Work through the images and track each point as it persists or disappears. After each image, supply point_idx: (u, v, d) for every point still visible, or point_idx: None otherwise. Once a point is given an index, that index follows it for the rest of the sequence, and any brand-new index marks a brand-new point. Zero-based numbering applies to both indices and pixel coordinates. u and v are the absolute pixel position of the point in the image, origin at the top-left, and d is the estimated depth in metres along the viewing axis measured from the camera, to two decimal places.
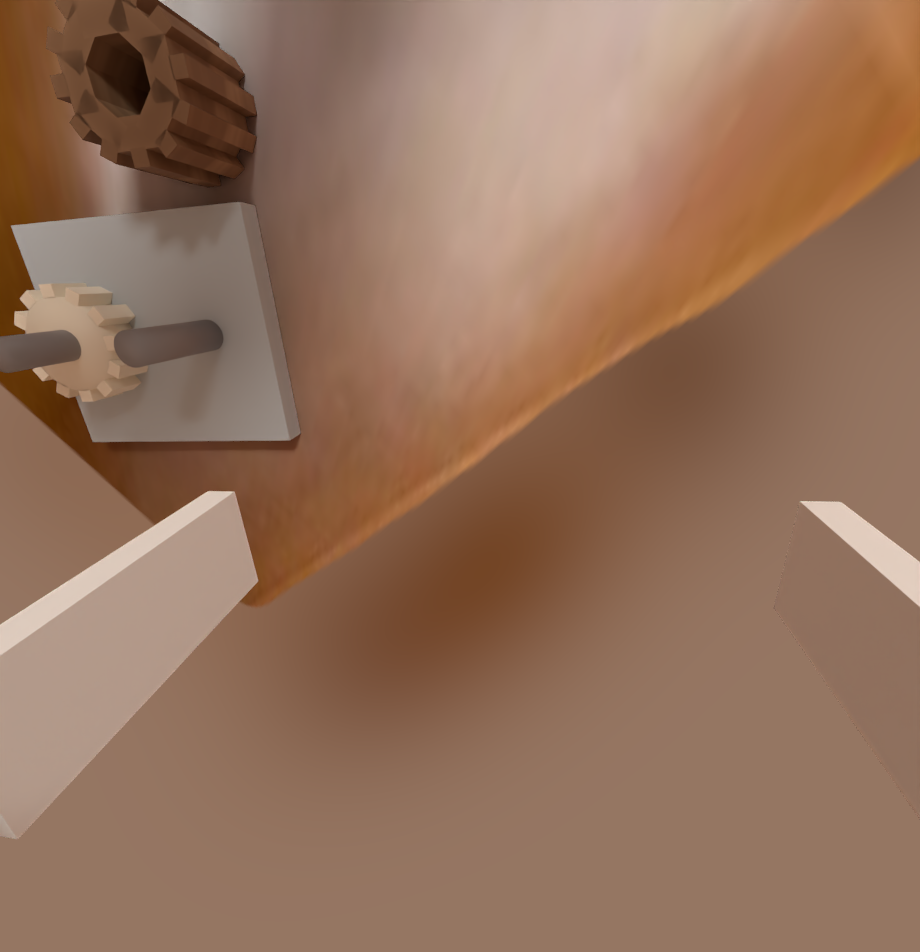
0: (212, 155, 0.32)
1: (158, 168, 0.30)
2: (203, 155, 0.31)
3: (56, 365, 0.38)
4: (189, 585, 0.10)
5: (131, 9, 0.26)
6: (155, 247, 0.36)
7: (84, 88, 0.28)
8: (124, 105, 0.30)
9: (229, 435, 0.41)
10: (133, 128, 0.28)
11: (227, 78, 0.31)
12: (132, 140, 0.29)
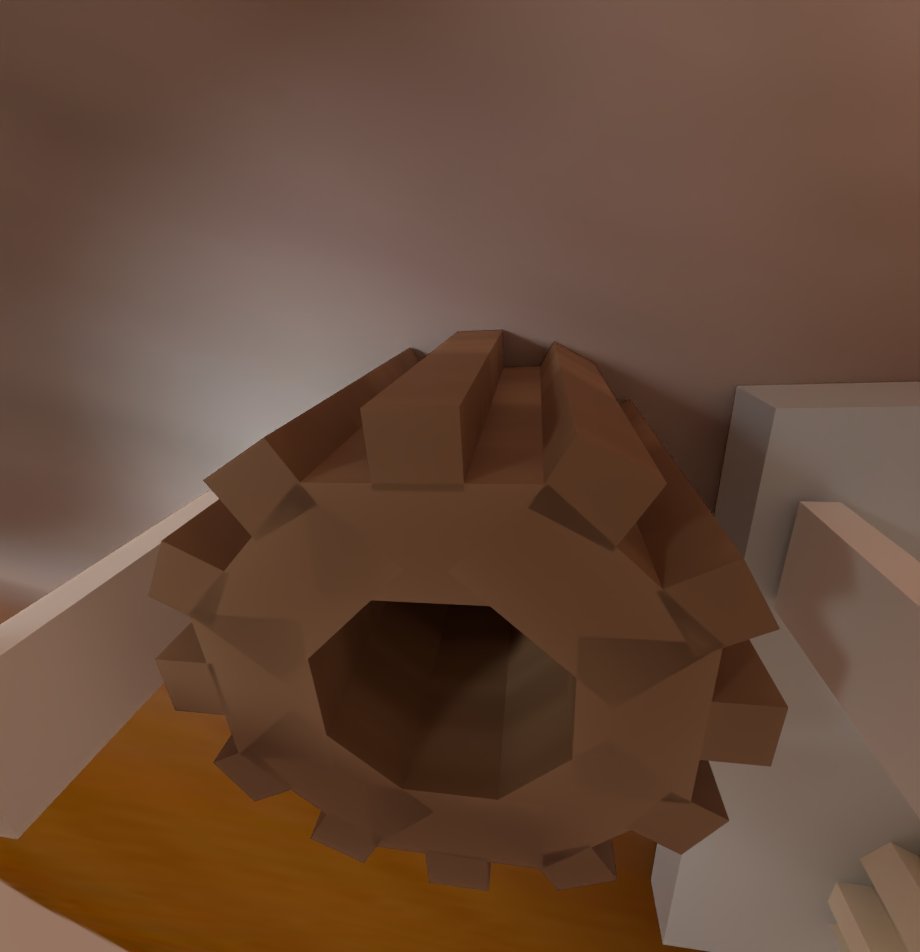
0: (652, 454, 0.09)
1: (759, 665, 0.07)
2: (683, 475, 0.07)
3: None
4: None
5: (234, 590, 0.07)
6: (817, 707, 0.12)
7: (469, 817, 0.08)
8: (495, 685, 0.10)
9: None
10: (621, 720, 0.06)
11: None
12: (664, 740, 0.06)
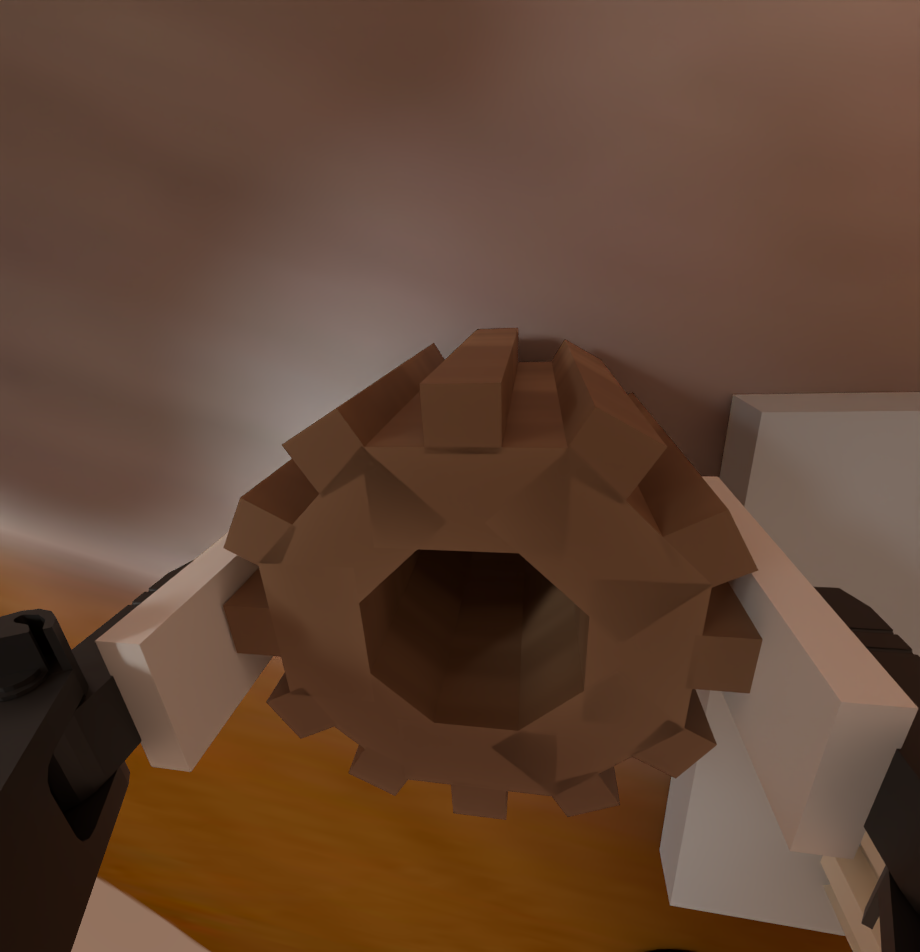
0: None
1: (742, 610, 0.08)
2: None
3: None
4: None
5: (300, 541, 0.08)
6: None
7: (491, 748, 0.09)
8: (512, 642, 0.11)
9: None
10: (626, 653, 0.08)
11: None
12: (662, 671, 0.08)
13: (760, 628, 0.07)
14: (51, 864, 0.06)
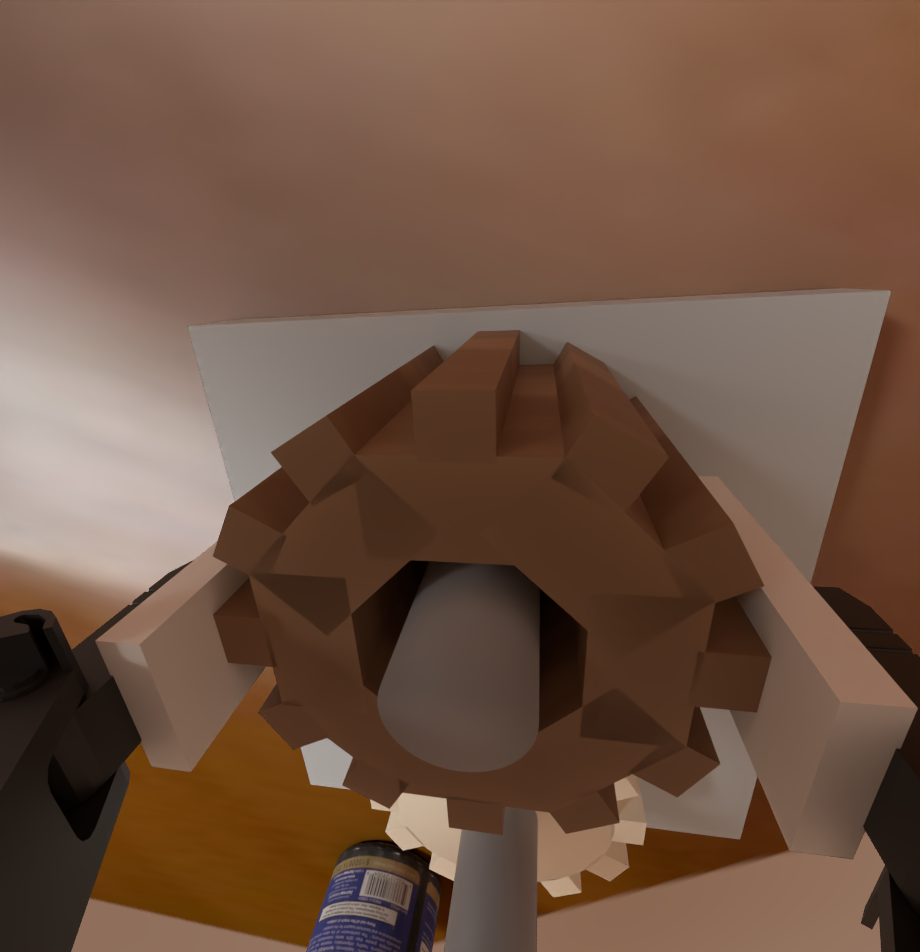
0: None
1: None
2: None
3: (546, 853, 0.16)
4: None
5: (290, 551, 0.07)
6: None
7: None
8: None
9: (809, 512, 0.13)
10: (626, 669, 0.07)
11: None
12: (664, 688, 0.07)
13: (759, 628, 0.07)
14: (52, 863, 0.06)
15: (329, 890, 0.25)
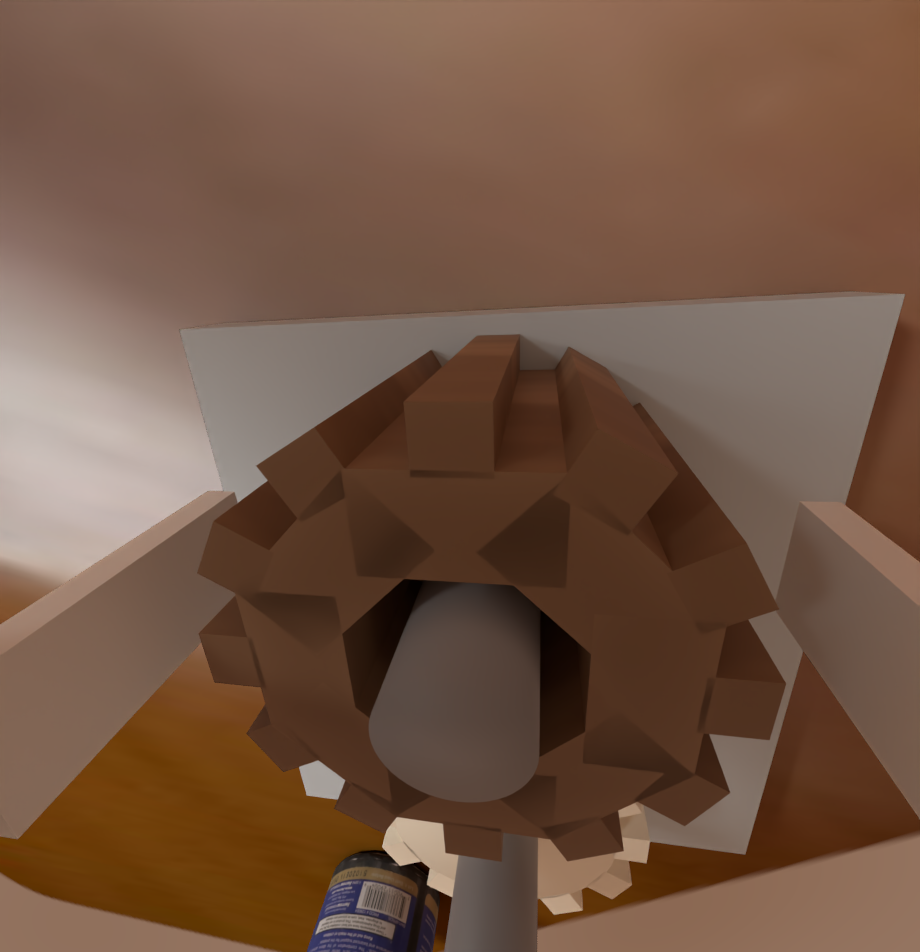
0: None
1: (759, 647, 0.07)
2: None
3: (546, 870, 0.15)
4: (189, 585, 0.10)
5: (277, 568, 0.07)
6: None
7: None
8: None
9: None
10: (631, 694, 0.07)
11: None
12: (671, 714, 0.07)
13: None
14: None
15: (326, 902, 0.24)
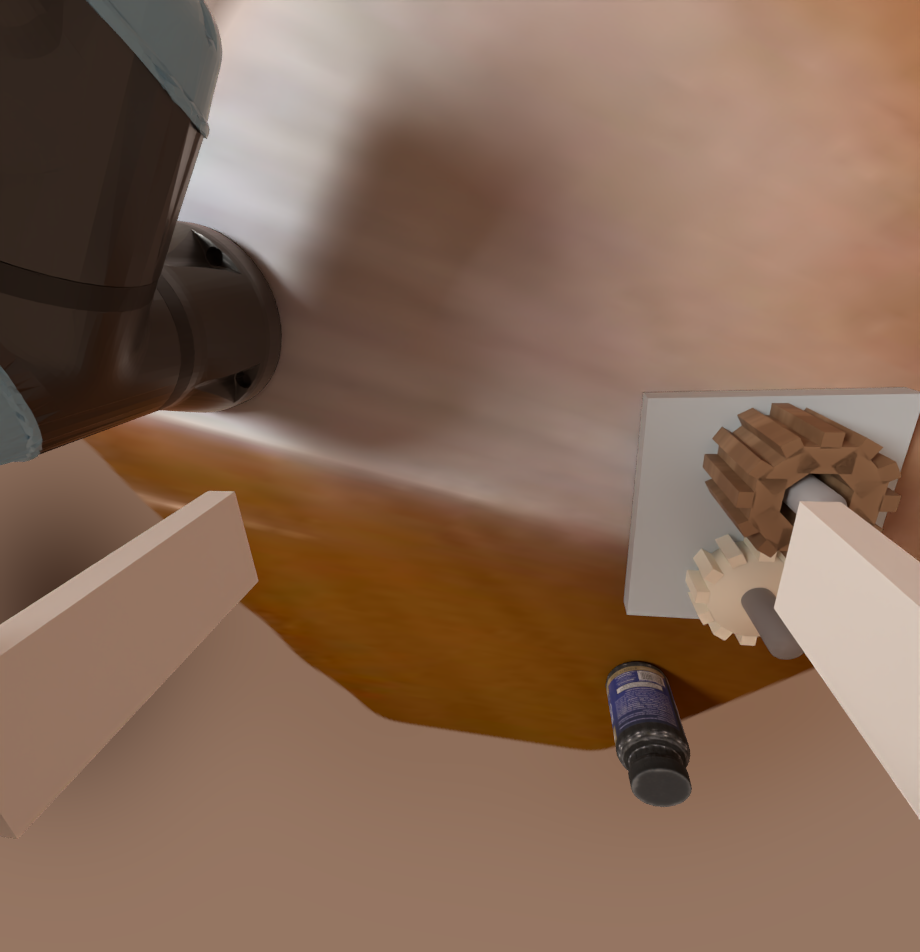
0: None
1: None
2: None
3: None
4: (189, 585, 0.10)
5: (773, 472, 0.29)
6: (670, 493, 0.38)
7: None
8: None
9: None
10: (862, 501, 0.29)
11: None
12: (871, 506, 0.29)
13: None
14: None
15: (615, 683, 0.46)
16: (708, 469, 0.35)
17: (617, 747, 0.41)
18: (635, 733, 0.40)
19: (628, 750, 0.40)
